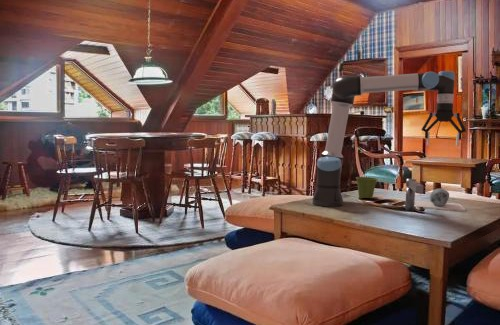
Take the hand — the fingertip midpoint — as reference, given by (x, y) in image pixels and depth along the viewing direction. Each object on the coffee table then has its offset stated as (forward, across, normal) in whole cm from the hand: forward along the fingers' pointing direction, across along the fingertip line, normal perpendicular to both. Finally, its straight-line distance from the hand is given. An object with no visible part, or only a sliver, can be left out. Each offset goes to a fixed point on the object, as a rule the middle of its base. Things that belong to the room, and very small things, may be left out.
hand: (442, 145), depth 225 cm
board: (+31, 0, 0) cm, 31 cm away
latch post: (+31, -15, -16) cm, 38 cm away
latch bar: (+19, -14, -26) cm, 36 cm away
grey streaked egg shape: (+30, 0, 0) cm, 30 cm away
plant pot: (+31, -36, +12) cm, 49 cm away
